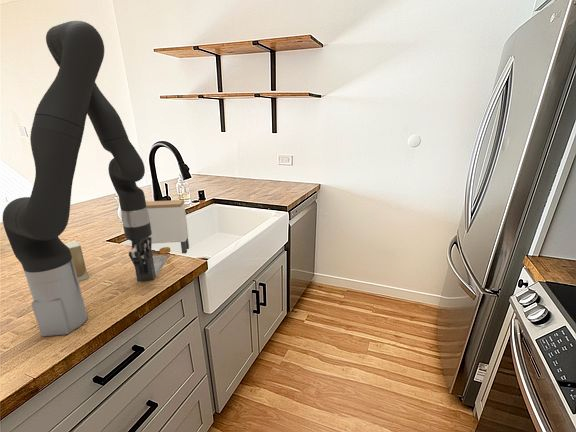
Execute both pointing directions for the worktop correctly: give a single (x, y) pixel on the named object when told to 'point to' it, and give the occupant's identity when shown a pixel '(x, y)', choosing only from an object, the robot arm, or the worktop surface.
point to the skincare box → (78, 260)
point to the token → (164, 250)
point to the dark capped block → (151, 266)
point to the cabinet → (168, 222)
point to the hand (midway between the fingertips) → (145, 271)
